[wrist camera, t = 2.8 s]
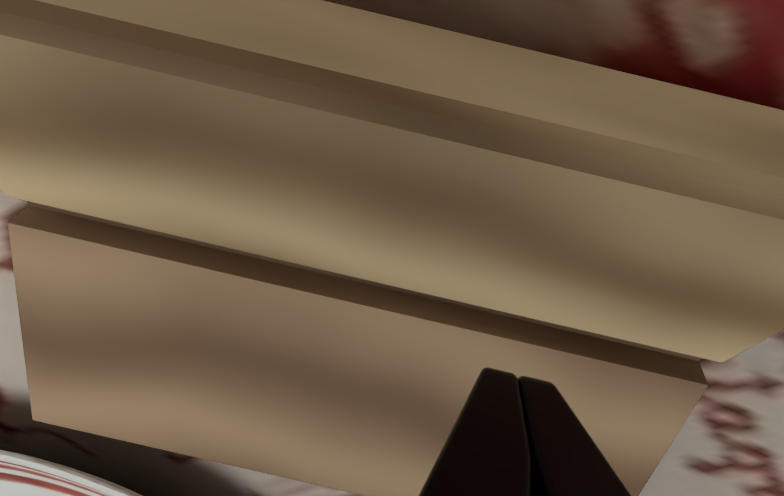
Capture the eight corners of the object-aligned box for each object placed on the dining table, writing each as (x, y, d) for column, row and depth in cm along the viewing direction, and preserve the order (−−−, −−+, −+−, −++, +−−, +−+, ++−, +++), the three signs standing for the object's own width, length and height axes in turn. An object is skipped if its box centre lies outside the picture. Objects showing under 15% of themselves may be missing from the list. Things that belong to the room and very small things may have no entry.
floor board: (597, 512, 25) (603, 550, 23) (55, 389, 24) (32, 420, 23) (709, 324, 20) (724, 359, 19) (34, 167, 20) (3, 191, 18)
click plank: (720, 312, 19) (722, 376, 19) (29, 151, 19) (-3, 208, 18) (962, 152, 12) (984, 245, 11) (-133, -109, 12) (-197, -35, 11)
